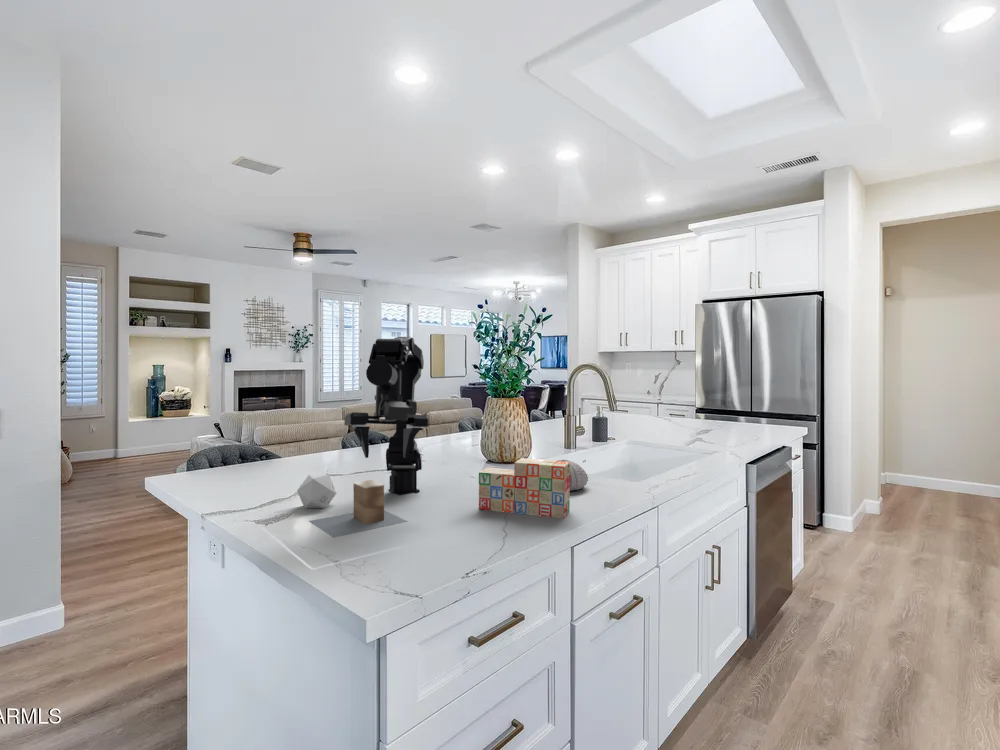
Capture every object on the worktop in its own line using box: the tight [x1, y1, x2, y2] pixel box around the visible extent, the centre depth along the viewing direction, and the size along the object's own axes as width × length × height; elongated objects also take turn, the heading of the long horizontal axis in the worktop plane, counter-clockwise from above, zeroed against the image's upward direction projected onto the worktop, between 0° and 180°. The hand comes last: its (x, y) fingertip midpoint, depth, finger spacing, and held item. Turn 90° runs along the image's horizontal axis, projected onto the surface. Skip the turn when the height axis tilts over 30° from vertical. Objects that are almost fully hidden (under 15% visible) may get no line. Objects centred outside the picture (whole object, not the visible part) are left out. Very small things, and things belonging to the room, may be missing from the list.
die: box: [296, 474, 338, 509], centre depth 130 cm, size 8×9×10 cm
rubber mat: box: [308, 509, 409, 538], centre depth 118 cm, size 17×14×1 cm
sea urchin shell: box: [556, 459, 589, 492], centre depth 151 cm, size 13×14×8 cm
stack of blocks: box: [478, 457, 571, 519], centre depth 128 cm, size 21×6×12 cm, turn 70°
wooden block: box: [353, 479, 385, 524], centre depth 120 cm, size 4×6×8 cm
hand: (386, 457), depth 123 cm, fingers open, 9 cm apart
